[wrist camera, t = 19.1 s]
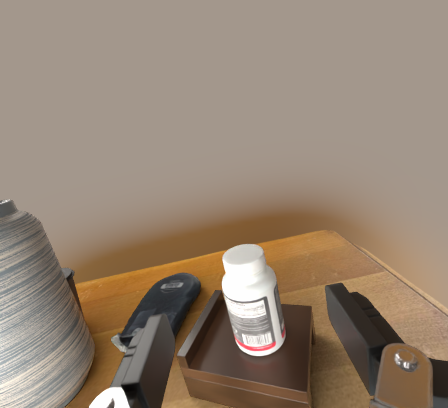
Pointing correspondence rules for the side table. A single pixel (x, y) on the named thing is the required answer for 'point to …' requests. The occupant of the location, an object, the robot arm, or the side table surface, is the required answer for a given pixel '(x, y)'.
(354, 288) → the side table surface
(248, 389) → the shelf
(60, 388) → the vase
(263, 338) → the pill bottle
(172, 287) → the electronic device
